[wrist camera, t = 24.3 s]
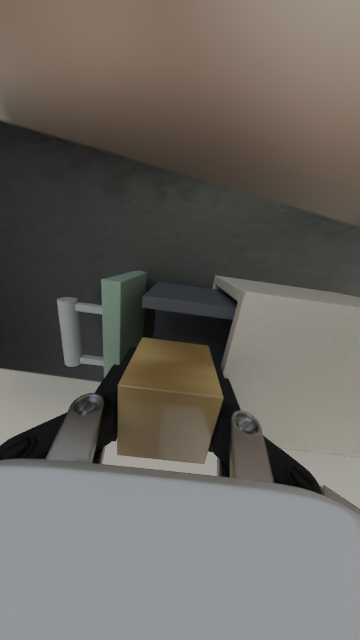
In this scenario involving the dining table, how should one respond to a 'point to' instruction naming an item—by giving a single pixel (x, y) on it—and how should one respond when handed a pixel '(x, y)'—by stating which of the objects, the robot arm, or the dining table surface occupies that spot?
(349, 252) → the dining table surface
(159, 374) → the block
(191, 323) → the green drawer
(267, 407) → the small drawer cabinet
